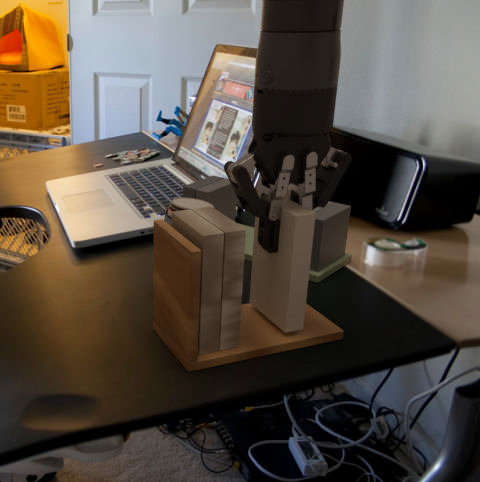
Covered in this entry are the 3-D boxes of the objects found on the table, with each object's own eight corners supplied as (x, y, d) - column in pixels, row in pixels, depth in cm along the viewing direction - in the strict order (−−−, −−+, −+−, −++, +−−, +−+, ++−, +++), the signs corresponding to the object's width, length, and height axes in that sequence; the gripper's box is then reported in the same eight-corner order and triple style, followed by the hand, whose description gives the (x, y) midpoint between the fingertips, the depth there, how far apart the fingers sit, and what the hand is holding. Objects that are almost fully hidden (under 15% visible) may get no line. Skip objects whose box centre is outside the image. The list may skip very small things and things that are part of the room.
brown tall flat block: (266, 299, 73) (274, 191, 68) (303, 329, 67) (316, 212, 62) (248, 302, 72) (256, 194, 68) (285, 333, 66) (296, 215, 61)
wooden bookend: (293, 301, 75) (304, 189, 70) (343, 339, 67) (359, 215, 62) (152, 329, 71) (153, 211, 66) (188, 372, 63) (191, 241, 58)
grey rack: (351, 261, 85) (359, 205, 82) (317, 283, 80) (324, 223, 77) (211, 221, 101) (213, 173, 98) (174, 237, 96) (175, 186, 93)
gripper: (333, 69, 65) (316, 227, 72) (210, 80, 62) (204, 245, 68) (385, 79, 58) (361, 252, 65) (251, 91, 55) (239, 273, 61)
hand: (280, 247), depth 66 cm, fingers closed on brown tall flat block, 2 cm apart
